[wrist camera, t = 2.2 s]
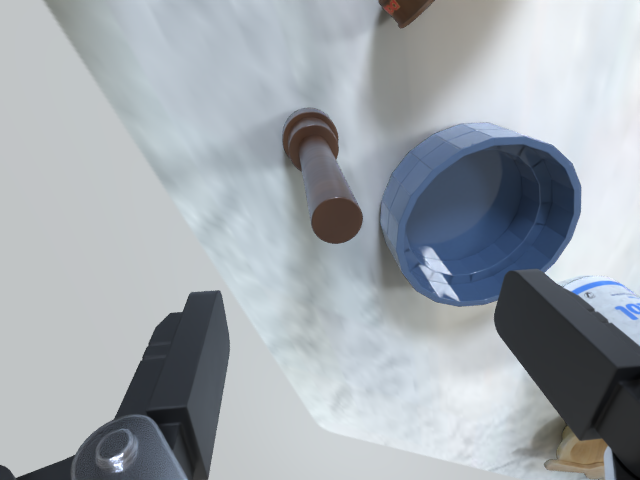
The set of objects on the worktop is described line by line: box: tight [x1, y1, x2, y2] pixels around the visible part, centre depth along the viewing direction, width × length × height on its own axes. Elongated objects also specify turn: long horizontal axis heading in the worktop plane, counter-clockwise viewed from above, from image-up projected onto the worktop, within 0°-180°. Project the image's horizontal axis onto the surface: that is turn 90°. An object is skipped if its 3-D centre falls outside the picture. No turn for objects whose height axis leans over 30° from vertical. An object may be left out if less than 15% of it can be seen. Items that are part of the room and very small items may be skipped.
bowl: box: [380, 123, 581, 307], centre depth 32 cm, size 15×15×6 cm
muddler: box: [283, 108, 363, 244], centre depth 23 cm, size 4×4×17 cm
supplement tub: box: [563, 276, 640, 346], centre depth 36 cm, size 10×10×15 cm
